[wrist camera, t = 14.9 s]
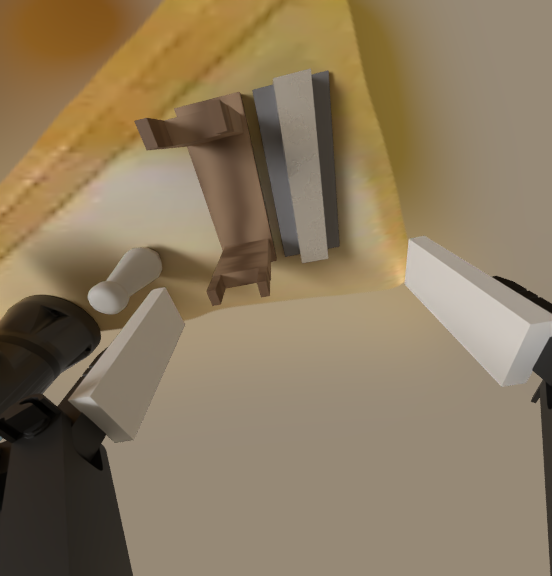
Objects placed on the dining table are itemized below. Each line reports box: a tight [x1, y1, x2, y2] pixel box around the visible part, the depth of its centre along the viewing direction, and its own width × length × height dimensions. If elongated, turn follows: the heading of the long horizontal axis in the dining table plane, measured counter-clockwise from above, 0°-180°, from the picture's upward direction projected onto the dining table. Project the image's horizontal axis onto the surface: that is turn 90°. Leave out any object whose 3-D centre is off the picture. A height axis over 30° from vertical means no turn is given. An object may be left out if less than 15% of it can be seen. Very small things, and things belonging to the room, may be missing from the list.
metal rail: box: [273, 69, 328, 263], centre depth 32 cm, size 4×22×4 cm, turn 11°
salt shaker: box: [88, 247, 162, 314], centre depth 35 cm, size 6×6×13 cm
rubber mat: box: [252, 71, 339, 257], centre depth 34 cm, size 9×22×1 cm, turn 11°
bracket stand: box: [135, 92, 276, 306], centre depth 29 cm, size 8×22×14 cm, turn 11°
